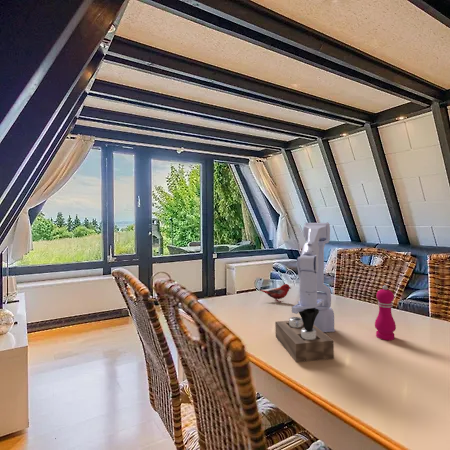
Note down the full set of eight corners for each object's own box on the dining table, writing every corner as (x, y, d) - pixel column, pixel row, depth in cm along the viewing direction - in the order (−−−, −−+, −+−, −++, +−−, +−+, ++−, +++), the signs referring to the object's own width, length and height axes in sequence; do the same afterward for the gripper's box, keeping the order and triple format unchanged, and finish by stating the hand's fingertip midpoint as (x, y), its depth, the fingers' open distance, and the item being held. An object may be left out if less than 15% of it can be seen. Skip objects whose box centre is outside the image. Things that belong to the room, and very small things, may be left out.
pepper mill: (370, 335, 127) (370, 284, 126) (384, 332, 130) (384, 282, 129) (385, 342, 120) (385, 288, 120) (400, 339, 123) (400, 286, 122)
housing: (307, 334, 130) (307, 319, 130) (333, 358, 108) (333, 340, 108) (275, 336, 128) (275, 321, 128) (296, 362, 106) (295, 343, 106)
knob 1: (299, 331, 127) (299, 316, 127) (305, 336, 122) (304, 320, 122) (287, 332, 126) (287, 317, 126) (292, 337, 121) (291, 321, 121)
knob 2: (312, 344, 115) (312, 326, 115) (318, 350, 110) (318, 331, 110) (299, 345, 114) (298, 327, 114) (304, 351, 109) (304, 333, 109)
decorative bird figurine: (291, 303, 174) (290, 284, 173) (258, 301, 179) (257, 283, 179) (291, 302, 176) (291, 283, 176) (259, 300, 182) (258, 282, 181)
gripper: (312, 285, 119) (312, 322, 119) (284, 291, 110) (285, 331, 111) (328, 288, 113) (329, 327, 114) (301, 295, 105) (301, 337, 105)
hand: (308, 330), depth 112 cm, fingers closed, pressing on knob 2
